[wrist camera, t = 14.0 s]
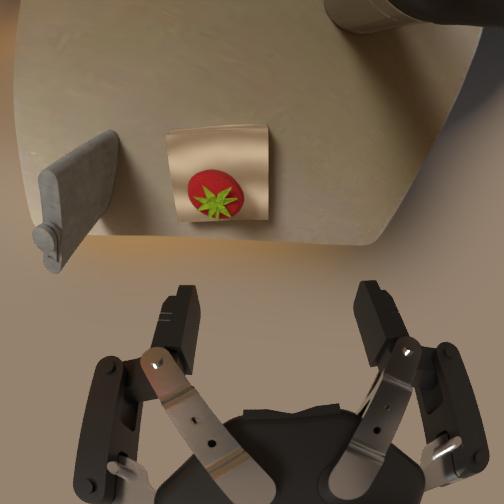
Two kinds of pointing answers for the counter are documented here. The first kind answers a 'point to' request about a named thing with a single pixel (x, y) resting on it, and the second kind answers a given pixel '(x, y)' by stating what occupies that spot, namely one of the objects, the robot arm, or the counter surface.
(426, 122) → the counter surface
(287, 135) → the counter surface
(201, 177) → the strawberry
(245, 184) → the plinth
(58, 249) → the hip flask
